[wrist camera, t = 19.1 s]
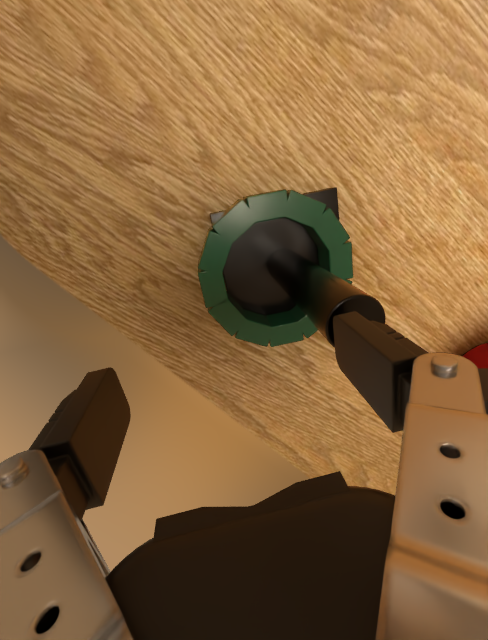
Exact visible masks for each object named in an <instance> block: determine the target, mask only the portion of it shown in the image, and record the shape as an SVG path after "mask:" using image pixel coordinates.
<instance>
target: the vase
mask: <svg viewBox="0 0 488 640" xmlns="http://www.w3.org/2000/svg"><path fill="white" fill-rule="evenodd" d="M462 357H464V358H466V359H469V360H470V361H472V362H473V363H474V364H475V365H476V366H477V368H488V343H484V344H482V345H479V346H477V347H475V348H473V349H471V350H470V351H468V352H467V353H466V354H464V355H463V356H462Z"/></svg>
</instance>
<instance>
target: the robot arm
mask: <svg viewBox="0 0 488 640" xmlns="http://www.w3.org/2000/svg"><path fill="white" fill-rule="evenodd" d="M333 330H334V342H335V353H336V359H337V362H338V365H339V367H340V369H341V371H342V372H343V373H344V374H345V376H346V377H347V378H348V379H349V380H350V382H351V383H352V384H353V385H354V386H355V388H356V389H357V390H358V391H359V393H360V394H361V395H362V396H363V397H364V399H365V400H366V401H367V402H368V403H369V405H370V406H371V407H372V408H373V409H374V411H375V412H376V413H377V414H378V415H379V417H380V418H381V419H382V420H383V422H384V423H385V424H386V425H387V426H388V428H389V429H390V430H391V431H392V432H397V431H401V430H403V436H402V445H401V453H400V461H399V469H398V478H397V486H396V494H395V496H394V495H392V494H389V493H386V492H383V491H380V490H376V489H371V488H366V487H357V486H347V484H346V482H345V480H344V478H343V476H342V474H341V472H340V471H339V472H335V473H332V474H328V475H324V476H320V477H316V478H312V479H308V480H305V481H301V482H297V483H295V484H293V485H291V486H289V487H287V488H285V489H283V490H282V491H280V492H278V493H276V494H274V495H272V496H271V497H269V498H267V499H265V500H263V501H261V502H259V503H257V504H255V505H253V506H248V507H201V508H197V509H193V510H189V511H185V512H181V513H177V514H174V515H170V516H166V517H162V518H158V519H156V526H155V532H154V538H152V539H150V540H148V541H147V542H146V543H144V544H143V545H141V546H139V547H138V548H136V549H135V550H134V551H133V552H132V553H130V554H129V555H128V556H127V557H125V558H124V559H123V560H122V561H121V562H120V563H119V564H118V565H117V566H116V567H115V568H114V569H113V570H112V571H111V572H110V570H109V568H108V566H107V564H106V562H105V560H104V559H103V557H102V555H101V553H100V551H99V549H98V548H97V545H96V543H95V541H94V540H93V538H92V536H91V534H90V532H89V530H88V528H87V526H86V525H85V523H84V521H83V519H82V518H83V515H84V512H85V510H87V509H91V508H94V507H98V506H102V505H103V504H104V501H105V498H106V495H107V492H108V489H109V485H110V482H111V479H112V476H113V473H114V470H115V467H116V464H117V460H118V457H119V454H120V451H121V448H122V444H123V441H124V438H125V435H126V432H127V429H128V426H129V422H130V407H129V404H128V401H127V399H126V396H125V394H124V391H123V389H122V387H121V384H120V382H119V379H118V377H117V374H116V372H115V371H114V370H113V368H106V369H101V370H97V371H93V372H88V373H87V374H86V376H85V377H84V379H83V381H82V382H81V384H80V385H79V387H78V388H77V390H74V391H73V392H72V393H71V394H69V395H68V396H67V397H66V398H65V399H64V400H63V401H62V402H61V403H60V405H59V406H58V407H57V409H56V410H55V413H54V414H53V415H52V416H51V418H50V419H49V423H47V424H46V425H45V426H44V428H43V429H42V431H41V432H40V434H39V435H38V437H37V438H36V440H35V441H34V443H33V444H32V445H31V447H30V448H29V450H27V451H24V452H21V453H18V454H16V455H14V456H12V457H10V458H8V459H6V460H5V461H3V462H2V463H0V640H488V368H477V366H476V365H475V364H474V363H473V362H472V361H470V360H469V359H466V358H464V357H462V356H459V355H455V354H450V353H440V352H436V353H428V352H427V351H425V350H424V349H422V348H421V347H419V346H418V345H416V344H415V343H413V342H412V341H410V340H409V339H407V338H404V336H403V335H401V334H400V333H398V332H396V331H395V330H394V329H392V328H391V327H389V326H388V325H386V324H383V323H380V322H376V321H369V320H367V319H366V318H365V317H363V316H362V315H360V314H359V313H358V312H356V311H353V312H349V313H344V314H340V315H336V316H334V318H333Z"/></svg>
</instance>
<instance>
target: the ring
mask: <svg viewBox="0 0 488 640" xmlns="http://www.w3.org/2000/svg"><path fill="white" fill-rule="evenodd" d="M325 207H326V204H324V203H322V202H320V201H317V200H315V199H312V198H310V197H308V196H305V195H303V194H300V193H298V192H295V191H293V190H288V191H286V190H277V191H272V192H267V193H262V194H257V195H251V196H246V197H243V199H239V200H237V201H236V202H235V203H234V204H233V205H232V206H231V207H230V208H228V209H227V210H226V211H225V212H224V213H223V214H222V215H221V216H220V217H219V218H217V219H216V220H215V221H214V222H213V223H212V228H213V229H211V228H209V229H208V233H207V236H206V239H205V242H204V246H203V249H202V252H201V255H200V259H199V263H198V277H199V281H200V285H201V289H202V293H203V298H204V302H205V306H206V308H208V312H209V313H210V314H211V315H212V316H213V317H214V318H215V319H216V321H217V322H218V323H219V324H220V325H221V326H222V327H223V328H224V329H225V330H226V331H227V332H228V333H229V334H230V335H231V336H233V335H234V334H235V338H237V339H241V340H245V341H248V342H252V343H255V344H259V345H262V346H266V347H267V346H268V343H269V344H270V346H271V347H274V346H278V345H283V344H288V343H292V342H297V341H302V340H304V338H303V334H304V335H305V336H306V338H309V337H310V336H311V335H312V334H314V333H315V332H316V331H317V330H318V329H317V328H316V327H315V325H314V324H313V323H312V322H311V321H310V320H309V319H308V317H307V316H306V315H305V314H304V313H303V312H302V310H301V309H300V308H299V307H298V306H297V305H296V306H295V307H294V308H292V309H291V310H290V311H286V312H281V313H276V314H272V315H267V316H265V315H262V314H258V313H255V312H252V311H249V310H245V309H243V308H242V307H241V306H240V305H239V304H238V303H237V302H236V301H235V300H234V298H233V297H232V296H231V295H230V294H229V293H228V292H227V291H226V286H225V281H224V277H223V269H224V266H225V263H226V260H227V257H228V254H229V252H230V249H231V246H232V243H233V242H235V241H236V240H237V239H238V238H239V237H240V236H241V235H243V234H244V233H245V232H246V231H247V230H248V229H249V228H250V227H252V226H253V225H254V224H255V223H258V222H263V221H268V220H273V219H279V218H285V219H288V220H290V221H293V222H295V223H298V224H301V225H303V227H304V228H305V230H306V231H307V232H308V234H309V235H310V236H311V238H312V239H313V241H314V242H315V243H316V245H317V247H318V259H319V266H320V267H322V268H324V269H325V270H327V271H329V272H330V273H332V274H334V275H336V276H337V277H339V278H341V279H342V280H344V281H346V282H348V283H349V284H352V281H350V280H348V279H350V278H353V265H352V243H351V242H349V241H347V240H348V239H349V238H350V237H349V235H348V234H347V232H346V231H345V229H344V228H343V226H342V225H341V223H340V222H339V220H338V219H337V217H336V216H335V214H334V213H333V211H332V210H331V208H325Z"/></svg>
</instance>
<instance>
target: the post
mask: <svg viewBox="0 0 488 640" xmlns="http://www.w3.org/2000/svg"><path fill="white" fill-rule="evenodd" d="M303 195H305V196H308V197H310V198H312V199H315V200H317V201H320V202H322V203H324V204H326V207H325V208H331V210H332V211H333V213H334V214H335V216H336V217H337V219H338V220H339V212H338V198H337V188H328V189H323V190H319V191H314V192H309V193H304V194H303ZM225 211H226V210H224V211H219V212H215V213H210V217H211V222H212V223H213V222H214V221H215V220H216V219H217V218H219V217H220V216H221V215H222V214H223V213H224V212H225ZM223 275H224V280H225V284H226V289H227V292H228V293H229V294H230V295H231V296H232V297H233V298H234V300H235V301H236V302H237V303H238V304H239V305H240V306H241V307H242V308H243V309H245V310H249V311H252V312H255V313H258V314H262V315H265V316H267V315H272V314H276V313H281V312H286V311H290V310H291V309H292V308H294V307H295V306H296V305H297V306H298V307H299V308H300V309H301V310H302V312H303V313H304V314H305V315H306V316H307V317H308V319H309V320H310V321H311V322H312V323H313V324H314V325H315V327H316V328H317V329H318V330H319V331H320V332H321V334H322V335H323V336H324V337H325V338H326V339H327V340H328V342H329V343H330V344H331V345H332V346H333V347H335V342H334V330H333V318H334V316H336V315H340V314H344V313H349V312H353V311H356V312H358V313H359V314H360V315H362V316H363V317H365V318H366V319H367V320H369V321H376V322H380V323H383V324H385V313H384V309H383V307H382V305H381V304H380V302H379V301H378V300H376V299H375V298H373V297H372V296H370V295H368V294H367V293H365V292H363V291H361V290H360V289H358V288H356V287H355V286H353V285H351V284H349V283H348V282H346V281H344V280H342V279H341V278H339V277H337V276H336V275H334V274H332V273H330V272H329V271H327V270H325V269H324V268H322V267H320V266H319V259H318V247H317V245H316V243H315V242H314V241H313V239H312V238H311V236H310V235H309V234H308V232H307V231H306V230H305V228H304V227H303V225H301V224H298V223H295V222H293V221H290V220H288V219H285V218H279V219H273V220H268V221H263V222H258V223H255V224H254V225H253V226H252V227H250V228H249V229H248V230H247V231H246V232H245V233H244V234H243V235H241V236H240V237H239V238H238V239H237V240H236V241H235V242H233V243H232V246H231V249H230V252H229V254H228V257H227V260H226V263H225V266H224V269H223Z"/></svg>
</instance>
